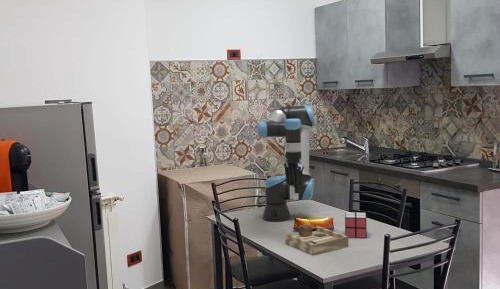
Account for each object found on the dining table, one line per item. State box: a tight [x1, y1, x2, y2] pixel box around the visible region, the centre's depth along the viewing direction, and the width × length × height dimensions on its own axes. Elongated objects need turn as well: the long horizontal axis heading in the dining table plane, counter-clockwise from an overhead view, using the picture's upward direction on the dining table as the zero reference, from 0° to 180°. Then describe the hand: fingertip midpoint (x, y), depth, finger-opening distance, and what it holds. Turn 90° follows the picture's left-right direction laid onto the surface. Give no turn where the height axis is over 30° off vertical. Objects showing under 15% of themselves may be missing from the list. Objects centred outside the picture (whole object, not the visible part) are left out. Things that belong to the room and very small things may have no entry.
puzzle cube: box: [344, 211, 367, 239], centre depth 245 cm, size 10×10×10 cm
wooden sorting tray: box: [284, 226, 349, 256], centre depth 232 cm, size 21×20×4 cm
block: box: [298, 223, 313, 237], centre depth 239 cm, size 4×4×4 cm
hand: (294, 199), depth 244 cm, fingers open, 2 cm apart
